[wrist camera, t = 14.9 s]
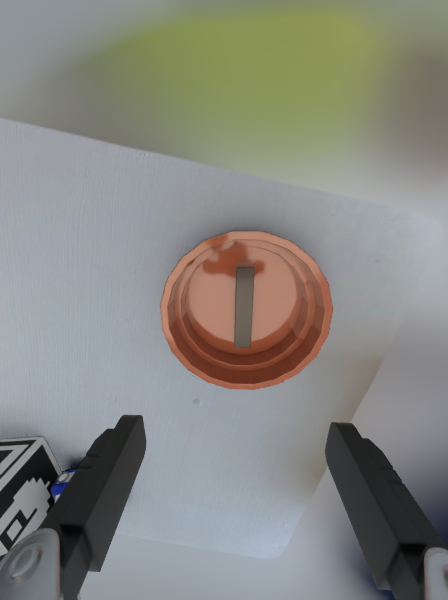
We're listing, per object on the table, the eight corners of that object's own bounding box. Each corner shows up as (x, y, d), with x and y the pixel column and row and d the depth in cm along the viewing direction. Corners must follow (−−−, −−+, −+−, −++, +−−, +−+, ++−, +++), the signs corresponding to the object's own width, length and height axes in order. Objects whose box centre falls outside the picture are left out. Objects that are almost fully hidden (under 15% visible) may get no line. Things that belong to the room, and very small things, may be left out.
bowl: (169, 229, 25) (153, 230, 20) (322, 231, 25) (346, 232, 19) (178, 360, 31) (167, 387, 25) (303, 364, 30) (318, 392, 25)
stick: (234, 339, 29) (234, 347, 27) (236, 264, 26) (236, 267, 24) (249, 340, 29) (250, 348, 27) (253, 264, 26) (254, 267, 24)
